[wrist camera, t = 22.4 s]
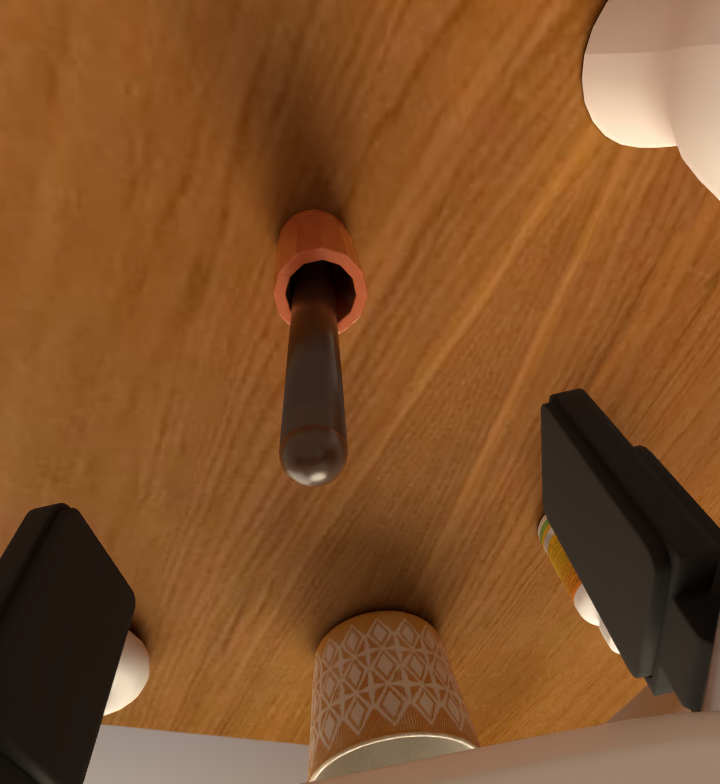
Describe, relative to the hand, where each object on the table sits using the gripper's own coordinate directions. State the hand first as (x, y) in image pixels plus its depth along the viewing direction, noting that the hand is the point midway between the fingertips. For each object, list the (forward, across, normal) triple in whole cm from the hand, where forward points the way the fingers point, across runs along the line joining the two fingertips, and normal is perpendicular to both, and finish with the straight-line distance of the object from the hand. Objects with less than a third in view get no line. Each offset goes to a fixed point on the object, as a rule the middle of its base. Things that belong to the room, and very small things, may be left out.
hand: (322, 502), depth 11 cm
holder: (+20, 0, +1) cm, 20 cm away
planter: (+20, +3, +36) cm, 41 cm away
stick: (+19, 0, +1) cm, 19 cm away
